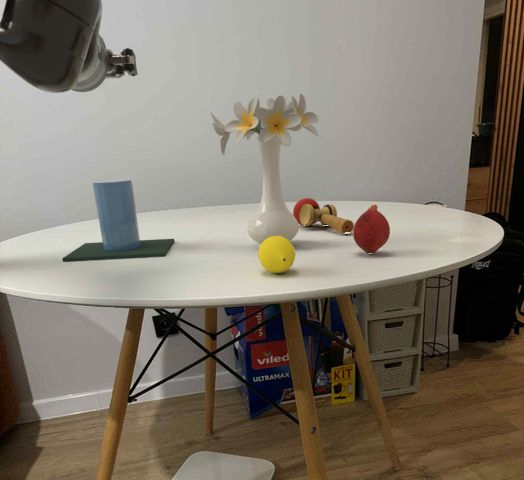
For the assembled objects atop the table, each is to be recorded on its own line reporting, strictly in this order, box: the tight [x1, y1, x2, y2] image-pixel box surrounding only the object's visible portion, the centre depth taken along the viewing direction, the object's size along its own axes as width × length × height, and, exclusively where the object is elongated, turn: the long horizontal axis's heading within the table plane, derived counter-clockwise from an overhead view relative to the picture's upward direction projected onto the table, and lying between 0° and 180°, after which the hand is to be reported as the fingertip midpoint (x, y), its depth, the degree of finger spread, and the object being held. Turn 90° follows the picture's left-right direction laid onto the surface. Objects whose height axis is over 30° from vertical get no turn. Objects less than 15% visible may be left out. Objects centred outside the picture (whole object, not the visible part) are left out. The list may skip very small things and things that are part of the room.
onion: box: [352, 203, 391, 254], centre depth 81 cm, size 6×6×8 cm
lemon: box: [257, 236, 296, 274], centre depth 73 cm, size 7×5×5 cm
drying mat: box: [62, 238, 175, 262], centre depth 95 cm, size 18×14×1 cm
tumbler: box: [92, 178, 141, 251], centre depth 93 cm, size 7×7×12 cm
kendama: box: [292, 197, 355, 234], centre depth 106 cm, size 8×6×18 cm
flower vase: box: [209, 93, 319, 249], centre depth 87 cm, size 13×18×25 cm
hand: (87, 70), depth 74 cm, fingers open, 8 cm apart
